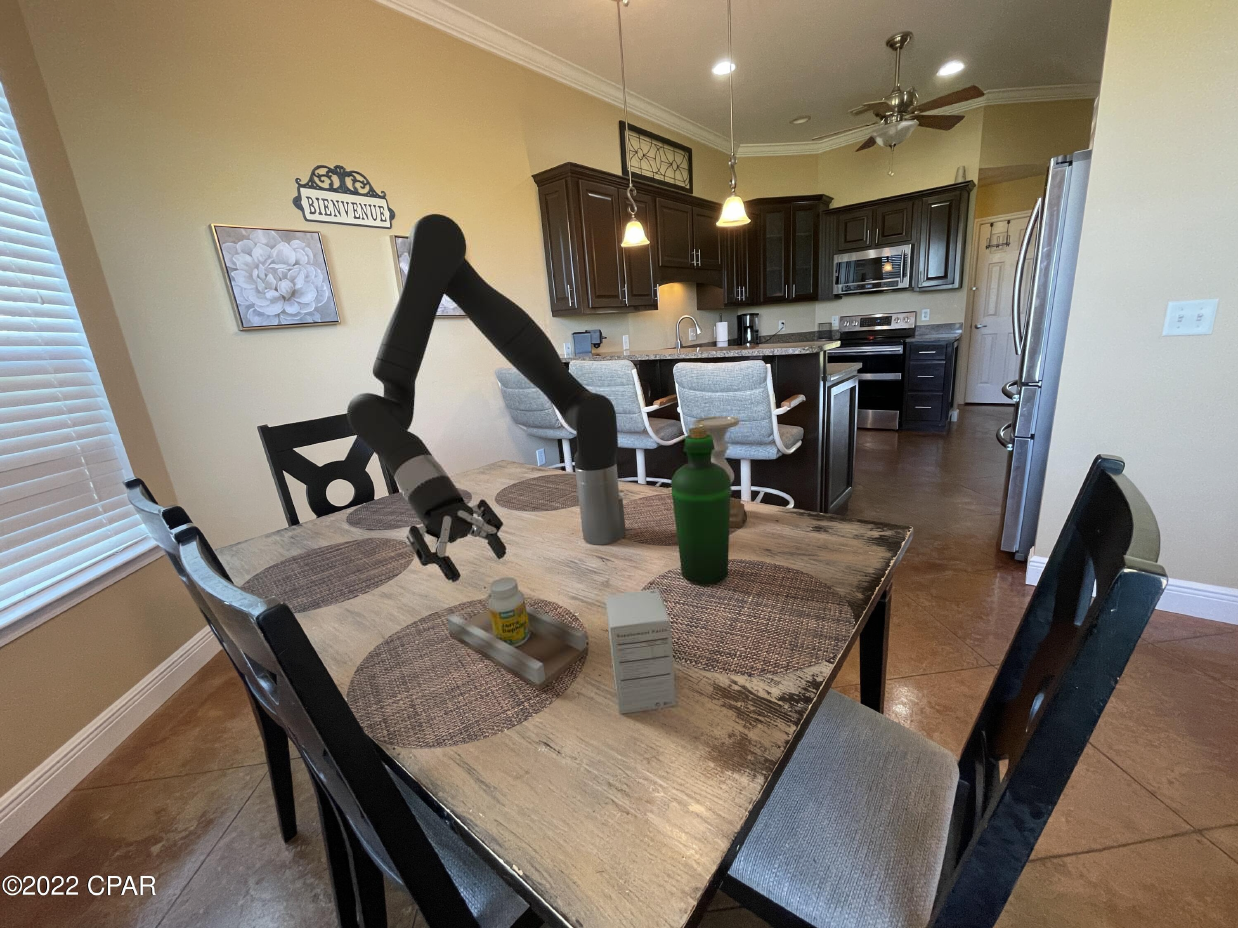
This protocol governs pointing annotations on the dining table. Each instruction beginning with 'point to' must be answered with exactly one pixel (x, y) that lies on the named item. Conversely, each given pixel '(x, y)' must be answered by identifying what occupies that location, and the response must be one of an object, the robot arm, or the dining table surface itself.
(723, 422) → the candle holder
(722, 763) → the dining table surface
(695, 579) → the bottle
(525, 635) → the supplement bottle
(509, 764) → the dining table surface
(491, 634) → the walnut track
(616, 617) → the supplement box
